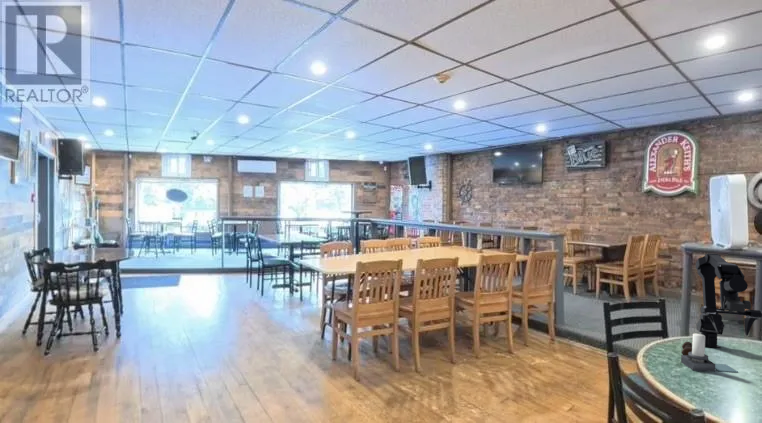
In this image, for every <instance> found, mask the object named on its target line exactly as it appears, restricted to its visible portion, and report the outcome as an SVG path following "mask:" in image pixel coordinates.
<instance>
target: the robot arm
mask: <svg viewBox="0 0 762 423" xmlns="http://www.w3.org/2000/svg"><path fill="white" fill-rule="evenodd" d="M695 269H696V271H697V272H696V273H697V275H698V276H699V277H700V278H701V281H702V282H701V283H702V284H701V285H702V297H703V298H702V300H703V305H702V306H701V307H700V315H699V319H698V321H697V323H696V326H695V327H696V330H697V331H698V332H699V333H700V334H702V335H705V348H716V349H719V348H721V346H720V345H718V335H721V336H722V335H723V333H724V329H725V323H724V321H723V316H722V314H723V315H724V314H725V315H736V316H737V315H738V316H745V317H744V318H743V321H744V322H743V326H744V334H745V336H746V337H747V336H749V333H750V331H751V329H752V326H753V324H754V323H755V321H759V320H760V319H762V310H758V309H752V303H751V301H750V300H745V299H744V300H742V301H741V297H739V293H743V292H745V291H747V289H748V286H749V285H748V282H747V281H746V280H745V275H744V273H743V272H742V270H741V268H740V267H739V265H738V264H735V263H730V262H728V261H726V259H724V258H723V257H721V254H719V253H712V252H711V253H706V254H705V255H704V256H702V257H699V258H697V260H696V261H695ZM716 277H717V279H719V280H720V279H721V280H720V281H719V294H720V296H719V300H720V308H717V298H716V297H717V296H716V282H715V281H716V280H715V279H716Z"/></svg>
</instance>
